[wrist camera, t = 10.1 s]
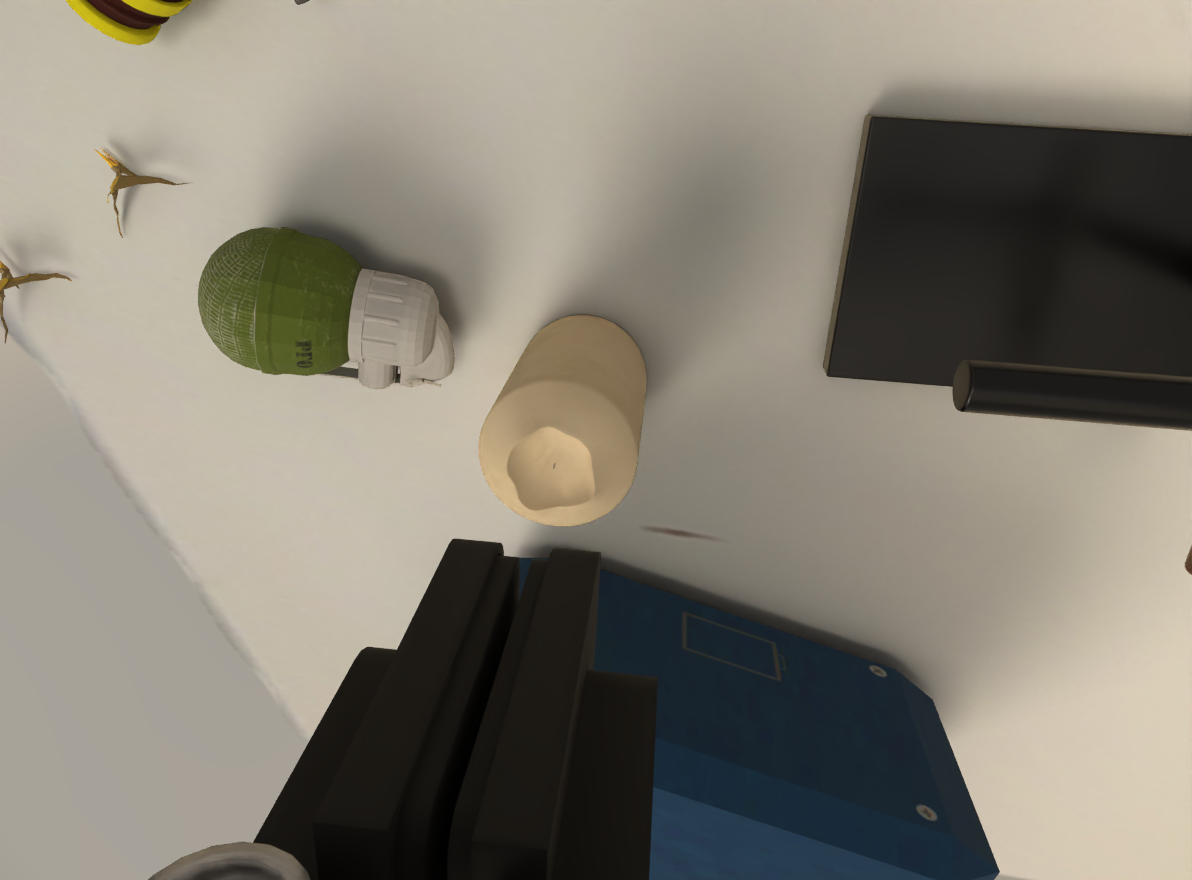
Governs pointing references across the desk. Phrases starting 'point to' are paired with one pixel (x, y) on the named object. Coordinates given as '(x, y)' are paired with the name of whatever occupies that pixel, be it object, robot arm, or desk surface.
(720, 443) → the desk surface
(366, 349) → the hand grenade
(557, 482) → the candle
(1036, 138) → the rail stand
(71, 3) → the opera glasses
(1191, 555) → the hanger
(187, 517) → the desk surface
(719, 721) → the radio
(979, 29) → the desk surface
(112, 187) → the pair of bird feet
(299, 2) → the walkie-talkie
